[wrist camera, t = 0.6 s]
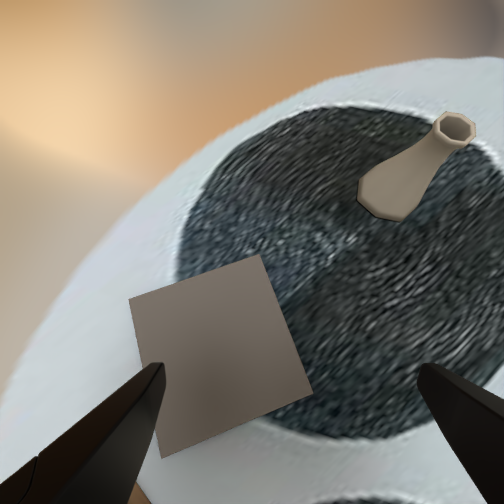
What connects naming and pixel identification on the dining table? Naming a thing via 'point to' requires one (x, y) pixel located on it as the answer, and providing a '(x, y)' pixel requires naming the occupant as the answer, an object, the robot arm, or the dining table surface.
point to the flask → (413, 169)
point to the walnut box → (138, 496)
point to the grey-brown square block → (217, 352)
